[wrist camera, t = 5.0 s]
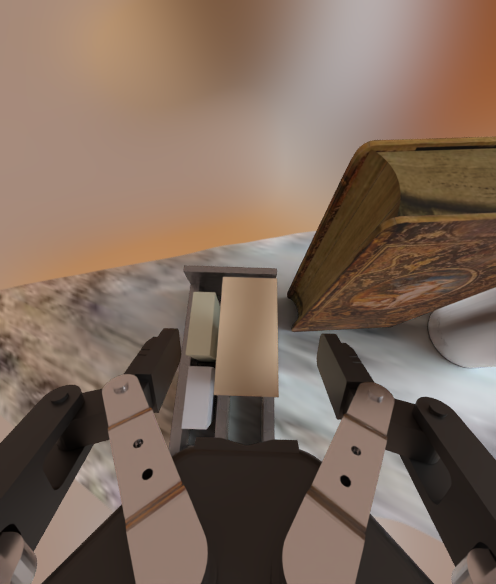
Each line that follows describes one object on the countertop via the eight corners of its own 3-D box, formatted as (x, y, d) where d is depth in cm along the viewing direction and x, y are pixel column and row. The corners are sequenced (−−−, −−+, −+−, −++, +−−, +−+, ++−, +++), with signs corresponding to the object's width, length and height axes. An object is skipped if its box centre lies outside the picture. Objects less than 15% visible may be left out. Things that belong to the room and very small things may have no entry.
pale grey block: (218, 369, 32) (211, 366, 25) (214, 418, 30) (206, 429, 23) (200, 369, 32) (188, 366, 25) (195, 418, 30) (181, 428, 23)
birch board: (258, 341, 33) (276, 278, 13) (257, 386, 31) (278, 397, 11) (237, 341, 33) (222, 276, 13) (235, 386, 31) (213, 394, 11)
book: (389, 292, 36) (646, 131, 13) (399, 326, 34) (724, 209, 11) (285, 297, 36) (357, 140, 13) (289, 332, 34) (384, 223, 11)
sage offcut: (222, 313, 35) (215, 292, 26) (219, 362, 32) (209, 355, 24) (206, 313, 35) (193, 291, 26) (201, 361, 32) (185, 354, 24)
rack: (270, 291, 36) (276, 268, 29) (270, 456, 28) (279, 482, 21) (197, 289, 36) (184, 265, 29) (177, 452, 28) (152, 477, 21)
